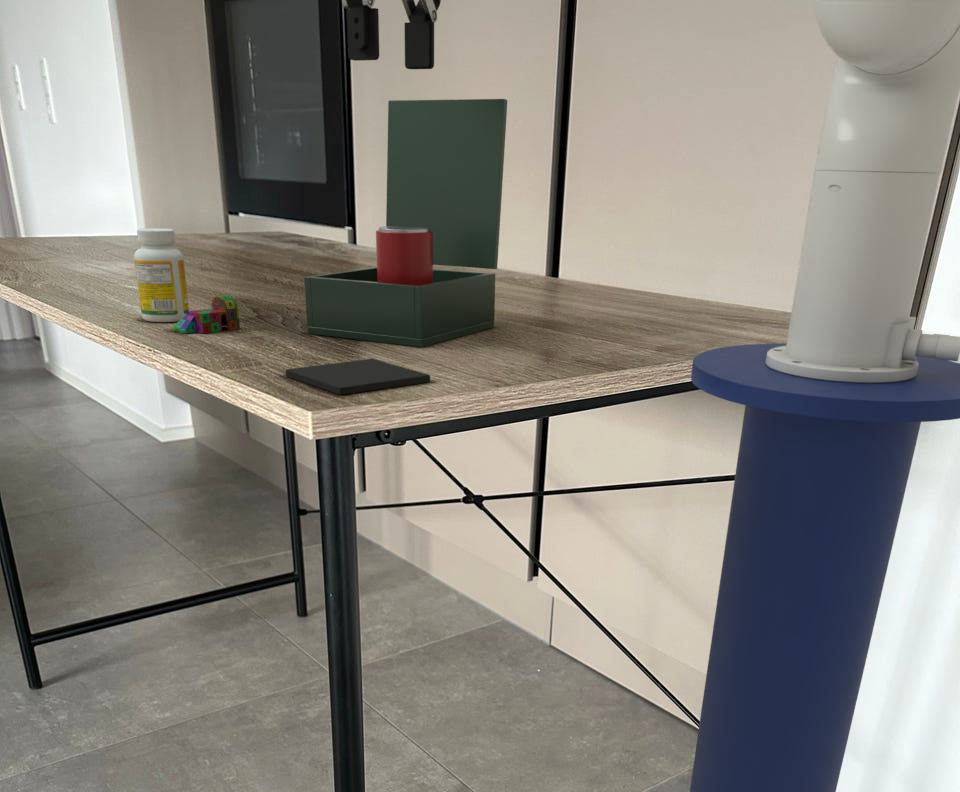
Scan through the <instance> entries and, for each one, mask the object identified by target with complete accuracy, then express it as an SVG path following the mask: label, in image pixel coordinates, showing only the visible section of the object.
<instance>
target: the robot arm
mask: <svg viewBox="0 0 960 792" xmlns="http://www.w3.org/2000/svg"><path fill="white" fill-rule="evenodd" d="M341 2H342V3H341V4H342V6H343V8H344V9H346V29H347V30H346V32H347V33H346V34H347V56H348V59H349V60H350V61H355V62H356V61H358V62H359V61H377V60H379V58H380V21H379V20H380V19H379V17H380V15H379V8H376V7H374V5H375V2H376V0H341ZM401 2H402V5H403V8H404V10H405V14H406V16H407V19H408V21H409V22H408V21H407V22H404V67H405V68H406V69H407V70H433V68H434V67H435V23H437V21H438V10H439V8H440V6H441V2H442V0H418V2H417V3H415V0H401ZM814 9H815V16H816V17H815V18H816V21H817V26H818V28H819V31H820V34H821V36H822V37H823V40H824V41H825V43H826V45H827V46H828V47H829V48H830V50H832V52H833V53H834V54H836V55H837V57H836V58H837V59H836V63H835V69H834V73H833V77H832V80H831V84H830V89H829V93H828V97H827V102H826V107H825V110H824V115H823V119H822V124H821V131H820V135H819V141H818V146H817V152H816V159H815V165H814V170H813V175H812V182H811V188H810V194H809V201H808V206H807V212H806V219H805V225H804V232H803V238H802V243H801V250H800V257H799V263H798V270H797V275H796V281H795V288H794V294H793V300H792V307H791V312H790V313H791V314H790V319H789V325H788V332H787V339H786V343H785V344H786V346H781V347H776V348H773V349H770V350H769V351H768V352H767V356H766V362H765V363H766V365H767V366H768V367H769V368H771V369H773V370H775V371H778V372H781V373H785V374H788V375H793V376H797V377H803V378H809V379H816V380H823V381H833V382H845V383H892V382H900V381H906V380H909V379H912V378H914V377H915V376H916V375H917V371H918V367H919V363H918V362H917V361H916V358H917V356H918V357H928V358H935V359H938V360H948V361H952V362H958V361H959V359H960V336H956V335H950V334H939V333H933V334H931V333H923V329H918V328H917V329H915V325H916V320H917V317H916V316H910V314H911V309H912V306H913V301H914V296H915V292H916V287H917V282H918V277H919V273H920V268H921V263H922V259H923V254H924V250H925V245H926V240H927V236H928V231H929V226H930V221H931V217H932V212H933V208H934V203H935V197H936V194H937V188H938V184H939V179H940V176H941V175H940V174H942V173H941V172H942V169H943V164H944V159H945V154H946V150H947V146H948V140H949V136H950V133H951V127H952V123H953V118H954V114H955V111H956V106H957V103H958V98H959V95H960V94H959V93H960V0H814Z"/></svg>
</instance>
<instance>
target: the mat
mask: <svg viewBox="0 0 960 792" xmlns="http://www.w3.org/2000/svg"><path fill="white" fill-rule="evenodd" d="M285 377H288V378H290V379H294V380H296V381H299V382H302V383H305V384H307V385H311V386H312V387H313V386H314V387H316V388H319V389H322V390H325V391H328V392H331V393H333V394H336V395H339V396H343V395H350V394H358V393H364V392H370V391H377V390H378V391H379V390H385V389H390V388H391V389H392V388H397V387H405V386H411V385H418V384H425V383H430V382H431V375H430V374H427V373H424V372H421V371H418V370H414V369H410V368H407V367H404V366H399V365H397V364H393V363H389V362H386V361H383V360H379V359H375V358H368V359H366V358H365V359H359V360H351V361H350V360H349V361H343V362H342V361H341V362H334V363H325V364H318V365H311V366H303V367H294V368H287V369H285Z"/></svg>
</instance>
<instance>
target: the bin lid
mask: <svg viewBox="0 0 960 792" xmlns="http://www.w3.org/2000/svg"><path fill="white" fill-rule="evenodd" d="M507 112H508V99H506V98H473V99H472V98H469V99H465V98H464V99H462V98H461V99H460V98H459V99H403V100H401V99H399V100H395V99H394V100H393V99H392V100H388V104H387V153H386V155H387V157H386V160H387V161H386V163H387V164H386V165H387V166H386V214H385V216H386V218H385V225H386V226H414V227H427V228H430V231H433V266H447V267H460V268H471V269H472V268H474V269H486V270H498V262H499V247H500V246H499V245H500V230H501V216H502V215H501V212H502V197H503V181H504V180H503V179H504V162H505V150H506V149H505V148H506V147H505V146H506V133H507V131H506V130H507V115H508V113H507ZM386 226H385V227H386Z"/></svg>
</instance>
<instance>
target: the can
mask: <svg viewBox="0 0 960 792" xmlns="http://www.w3.org/2000/svg"><path fill="white" fill-rule="evenodd" d="M375 239H376V240H375V246H376V247H375V249H376V250H375V252H376V253H375V254H376V267H377V282H382V283H394V284H405V285H417V286H420V285H425V284H431V283H433V269H434V265H433V231H430V228H427V227H414V226H379V227H378V229H377V230H375Z"/></svg>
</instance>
